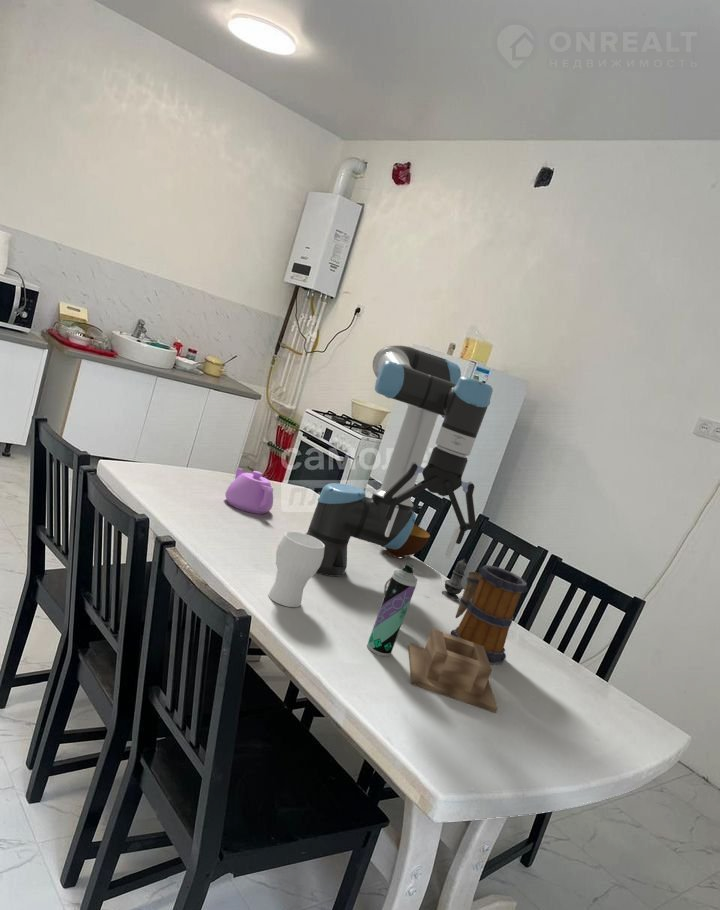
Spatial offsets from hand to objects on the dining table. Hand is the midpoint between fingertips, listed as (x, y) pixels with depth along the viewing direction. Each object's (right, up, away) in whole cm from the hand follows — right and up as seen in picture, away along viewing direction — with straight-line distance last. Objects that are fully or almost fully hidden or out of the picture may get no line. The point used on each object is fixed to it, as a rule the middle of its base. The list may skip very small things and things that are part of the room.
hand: (417, 545), depth 146 cm
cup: (-29, -14, +13) cm, 35 cm away
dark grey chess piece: (+15, -23, +59) cm, 65 cm away
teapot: (-49, +2, +79) cm, 93 cm away
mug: (+15, -28, +26) cm, 41 cm away
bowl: (-1, -14, +83) cm, 84 cm away
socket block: (+7, -28, +2) cm, 29 cm away
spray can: (-8, -23, +3) cm, 25 cm away
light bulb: (-6, -21, +21) cm, 31 cm away
